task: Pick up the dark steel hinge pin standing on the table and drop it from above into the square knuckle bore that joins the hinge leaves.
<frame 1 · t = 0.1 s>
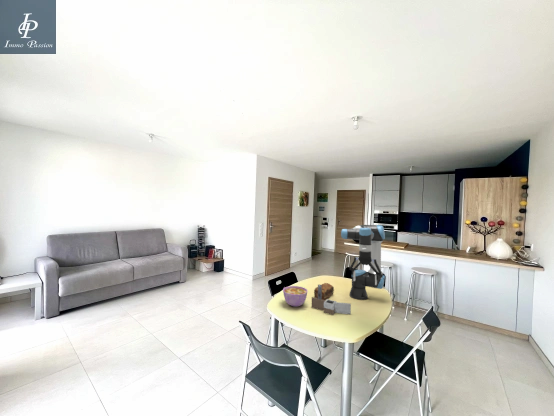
hand: (364, 282, 144), 28 cm above the table, fingers open, 13 cm apart
hinge pin: (319, 303, 176), on the table
hinge leaves: (330, 311, 161), on the table
bread: (324, 296, 192), on the table
bowl of food: (295, 304, 173), on the table
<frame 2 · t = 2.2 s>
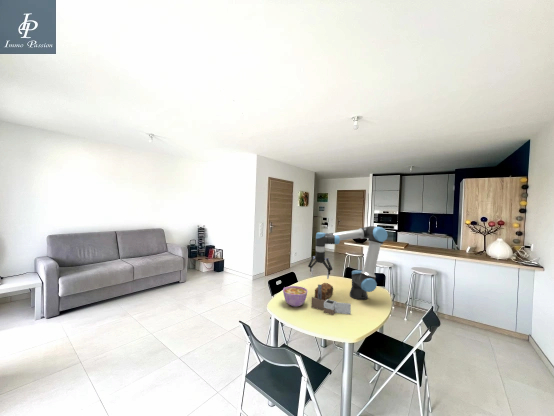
hand: (319, 277, 177), 22 cm above the table, fingers open, 13 cm apart
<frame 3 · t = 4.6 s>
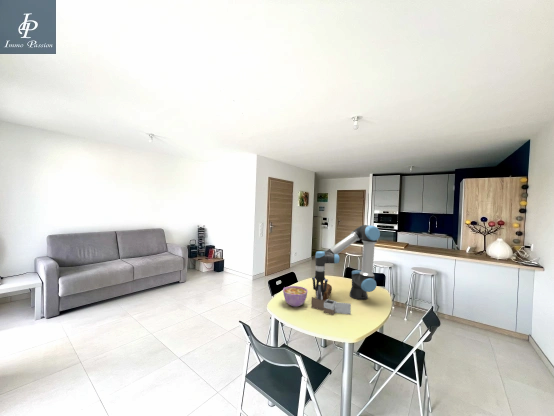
hand: (319, 299, 176), 4 cm above the table, fingers closed on hinge pin, 3 cm apart
hinge pin: (319, 303, 176), on the table, touching gripper
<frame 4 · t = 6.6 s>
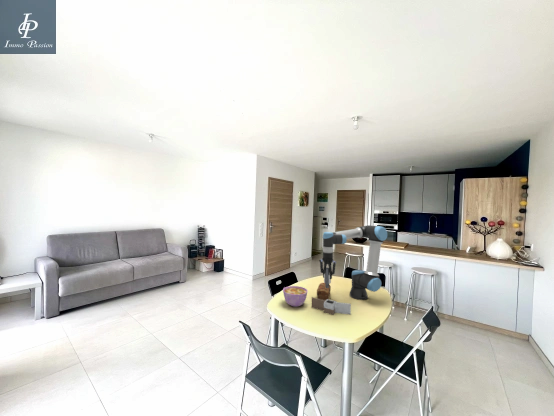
hand: (327, 282, 165), 21 cm above the table, fingers closed on hinge pin, 3 cm apart
hinge pin: (327, 287, 165), point 17 cm above the table, touching gripper
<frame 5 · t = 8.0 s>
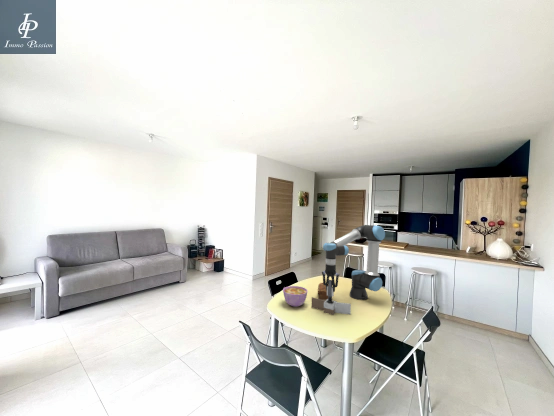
hand: (330, 295, 162), 12 cm above the table, fingers closed on hinge pin, 3 cm apart
hinge pin: (330, 300, 161), point 9 cm above the table, touching gripper
when the fingers open (9 cm above the table, at t = 8.9 s): hinge pin drops 4 cm, resting in hinge leaves.
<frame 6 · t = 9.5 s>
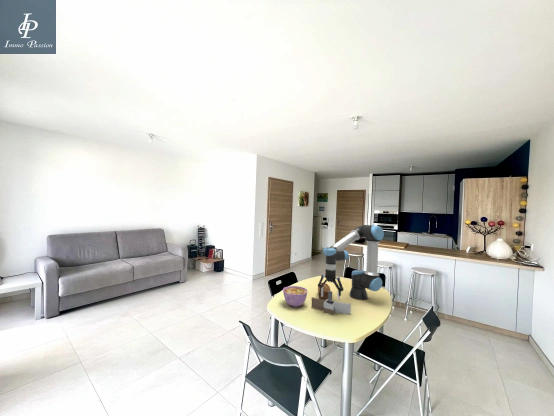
hand: (330, 298, 162), 10 cm above the table, fingers open, 12 cm apart
hinge pin: (330, 311, 161), resting in hinge leaves
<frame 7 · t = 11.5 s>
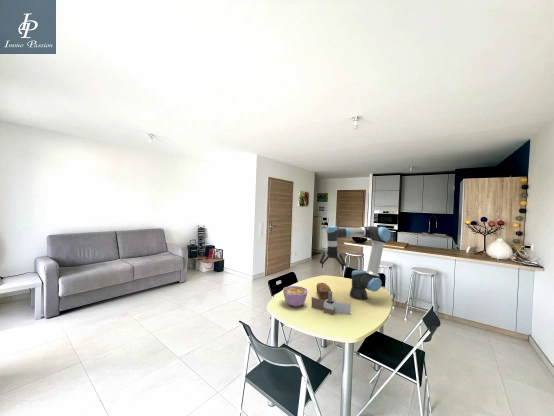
hand: (332, 273, 167), 28 cm above the table, fingers open, 13 cm apart
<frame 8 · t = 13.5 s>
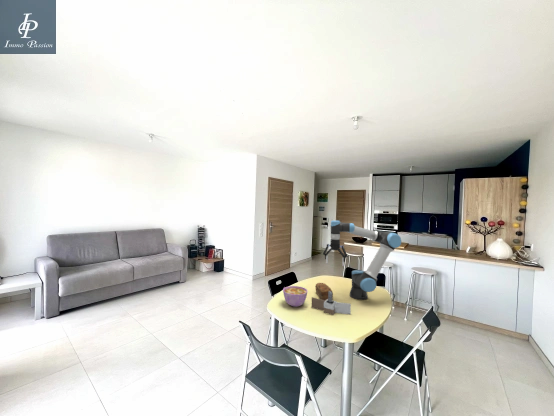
hand: (334, 264, 178), 32 cm above the table, fingers open, 13 cm apart
at the end: hinge pin 0.0 cm off-centre on the hinge leaves, point 0.0 cm above the hinge leaves's base; hinge pin tilted 0°; the gripper is holding nothing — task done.
